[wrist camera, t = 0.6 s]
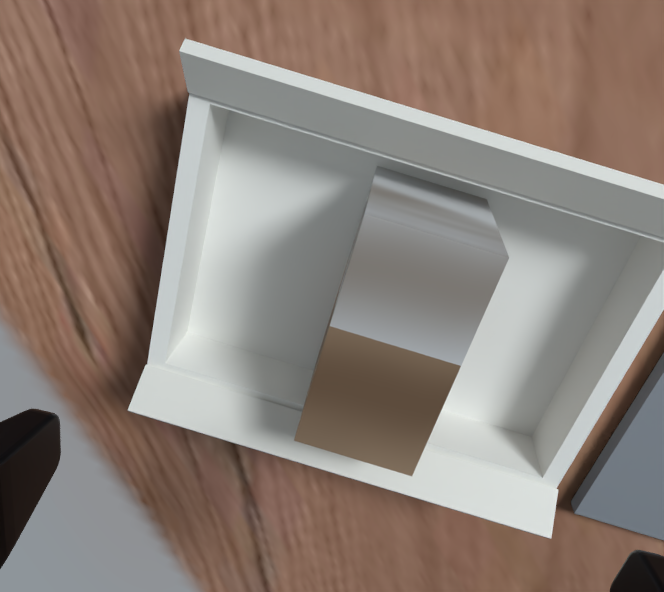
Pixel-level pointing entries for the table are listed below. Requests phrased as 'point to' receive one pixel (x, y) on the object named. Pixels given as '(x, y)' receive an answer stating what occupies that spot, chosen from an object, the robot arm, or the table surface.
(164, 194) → the table surface
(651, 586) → the robot arm
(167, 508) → the table surface
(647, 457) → the slate mat
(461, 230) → the walnut box
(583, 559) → the table surface
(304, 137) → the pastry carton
